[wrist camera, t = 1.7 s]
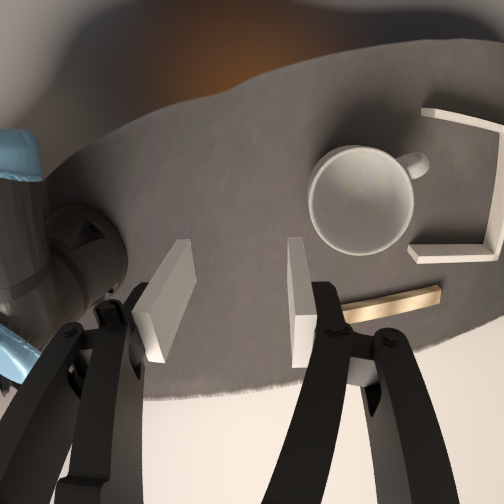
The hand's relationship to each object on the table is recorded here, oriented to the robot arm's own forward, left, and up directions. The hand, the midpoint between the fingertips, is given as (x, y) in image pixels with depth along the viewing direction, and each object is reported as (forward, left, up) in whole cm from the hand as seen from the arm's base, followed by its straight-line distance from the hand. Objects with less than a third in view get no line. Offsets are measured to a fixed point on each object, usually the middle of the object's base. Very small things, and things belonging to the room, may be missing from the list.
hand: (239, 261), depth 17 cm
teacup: (+12, 0, -20) cm, 23 cm away
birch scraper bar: (+16, -18, -20) cm, 31 cm away
